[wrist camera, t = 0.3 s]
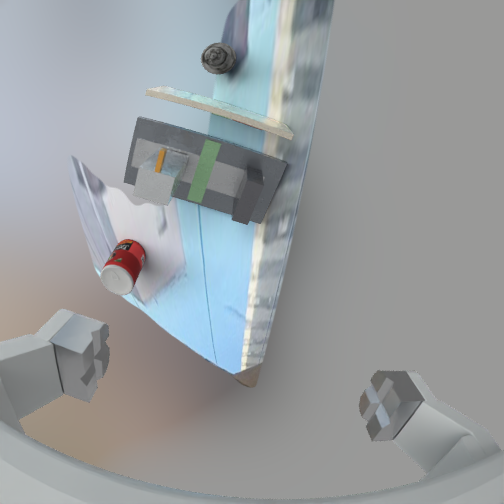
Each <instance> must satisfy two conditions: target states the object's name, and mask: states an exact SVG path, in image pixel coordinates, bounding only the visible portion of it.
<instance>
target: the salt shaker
mask: <svg viewBox="0 0 504 504" xmlns="http://www.w3.org/2000/svg"><path fill="white" fill-rule="evenodd" d="M235 62H236V54H235V51H234V50H233V48H232V47H230V46H229V45H227V44H225V43H214V44H212V45H209V46H208V47H207V48H206V49H205V50H204V51H203V53H202V56H201V63H202V65H203V67H204V68H205V69H206V70H207V71H208V72H210V73H212V74H223V73H226V72H228V71H229V70H231V69H232V68H233V66H234V64H235Z"/></svg>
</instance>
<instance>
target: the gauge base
mask: <svg viewBox="0 0 504 504" xmlns="http://www.w3.org/2000/svg"><path fill="white" fill-rule="evenodd" d="M146 95H147V96H151V97H156V98H160V99H164V100H168V101H172V102H176V103H180V104H183V105H187V106H191V107H194V108H198V109H201V110H205V111H208V112H211V113H212V114H215V115H218V116H221V117H225V118H228V119H232V120H234V121H237V122H240V123H243V124H246V125H249V126H252V127H254V128H257V129H260V130H265V131H268V132H270V133H273V134H276V135H278V136H281V137H284V138H286V139H289V140H292V138H293V136H294V135H293V133H292V132H291V130H290V129H289V128H288V126H287V125H286V124H284V123H281V122H278V121H276V120H273V119H271V118H268V117H265V116H262V115H260V114H257V113H254V112H251V111H248V110H245V109H242V108H239V107H236V106H233V105H230V104H227V103H224V102H221V101H217V100H214V99H211V98H207V97H204V96H200V95H197V94H193V93H189V92H186V91H182V90H178V89H174V88H170V87H166V86H161V87H156V88H150V89H147V91H146ZM159 148H165V149H167V150H170V151H174V152H177V153H180V154H184V155H187V156H189V158H188V161H187V165H186V168H185V172H184V175H183V178H182V181H181V182H180V184H179V186H178V188H177V190H176V191H175V193H174V195H173V197H176V198H179V199H182V200H186V201H189V202H192V203H195V204H199V205H202V206H205V207H208V208H212V209H215V210H218V211H221V212H224V213H228V214H231V215H232V220H233V221H236V222H240V223H243V224H246V225H248V223H249V220H250V221H253V222H256V223H259V224H261V222H262V220H263V218H264V215H265V213H266V211H267V209H268V206H269V204H270V202H271V199H272V197H273V195H274V193H275V190H276V188H277V186H278V184H279V181H280V179H281V177H282V175H283V172H284V170H285V168H286V166H287V162H285V161H282V160H279V159H277V158H274V157H271V156H268V155H266V154H263V153H260V152H257V151H254V150H252V149H249V148H246V147H243V146H240V145H237V144H234V143H231V142H228V141H225V140H222V139H218V138H215V137H212V136H209V135H206V134H202V133H199V132H196V131H192V130H189V129H185V128H182V127H178V126H174V125H171V124H167V123H163V122H159V121H156V120H152V119H147V118H144V117H138V118H137V122H136V126H135V130H134V135H133V139H132V144H131V148H130V153H129V157H128V162H127V167H126V173H125V178H124V183H128V184H132V185H135V184H136V179H137V174H138V169H139V167H140V166H141V165H142V164H143V163H144V162H145V161H146V160H147V159H148V158H149V157H150V156H151V155H152V154H153V153H154V152H155V151H156V150H157V149H159Z"/></svg>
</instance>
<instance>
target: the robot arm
mask: <svg viewBox="0 0 504 504" xmlns="http://www.w3.org/2000/svg"><path fill="white" fill-rule="evenodd" d="M108 337H109V327H108V325H107V324H106V323H104V322H101V321H98V320H95V319H92V318H89V317H86V316H83V315H81V314H77V313H75V312H72V311H69V310H66V309H60V310H59V311H58V312H57V313H56V314H55V315H54V316H53V317H52V318H51V319H50V320H49V321H48V322H47V323H46V324H45V325H44V326H43V327H42V328H41V329H40V330H39V331H38V332H37V333H36V334H35V335H34V336H33V335H31V334H28V335H24V336H21V337H17V338H13V339H9V340H6V341H2V342H0V504H504V450H503V451H502V450H501V449H500V447H499V446H498V444H497V443H496V441H495V440H494V438H493V437H492V435H491V434H490V433H489V431H488V430H487V429H486V428H485V427H483V426H481V425H480V424H478V423H477V422H475V421H473V420H472V419H470V418H468V417H467V416H465V415H463V414H462V413H460V412H459V411H457V410H456V409H454V408H452V407H451V406H449V405H447V404H446V403H444V402H443V401H441V400H437V399H436V398H435V397H434V395H433V393H432V392H431V390H430V389H429V388H428V386H427V385H426V383H425V382H424V380H423V379H422V378H421V376H420V375H419V374H418V372H416V371H380V370H378V371H377V372H376V373H375V374H374V375H373V377H372V378H371V386H370V387H368V388H367V389H365V390H364V392H363V394H362V396H361V398H360V403H359V409H360V413H361V416H362V417H363V418H364V419H365V420H367V421H368V423H367V425H366V428H367V431H368V433H369V435H370V438H371V440H372V441H386V440H393V442H394V443H395V444H396V445H397V446H398V447H399V448H400V449H401V450H402V451H404V452H405V453H406V454H407V455H408V456H409V457H410V458H411V459H412V460H413V461H414V462H415V463H416V464H417V465H418V466H419V467H420V468H421V469H423V470H424V471H425V472H426V473H427V474H426V475H425V476H424V477H423V478H422V479H421V480H419V482H415V483H411V484H407V485H403V486H399V487H394V488H390V489H384V490H379V491H374V492H367V493H361V494H354V495H346V496H336V497H327V498H310V499H254V498H239V497H227V496H218V495H210V494H202V493H196V492H190V491H185V490H179V489H174V488H169V487H164V486H160V485H156V484H152V483H148V482H144V481H140V480H136V479H133V478H129V477H126V476H123V475H119V474H116V473H113V472H110V471H107V470H104V469H101V468H99V467H96V466H93V465H90V464H88V463H85V462H83V461H80V460H78V459H75V458H73V457H70V456H68V455H66V454H64V453H61V452H59V451H57V450H55V449H53V448H50V447H49V446H46V445H44V444H42V443H40V442H38V441H36V440H35V439H33V438H31V437H29V436H27V435H25V432H24V430H23V428H22V426H21V424H20V422H19V419H21V418H23V417H25V416H26V415H28V414H30V413H32V412H34V411H35V410H37V409H39V408H41V407H43V406H44V405H46V404H48V403H50V402H51V401H53V400H55V399H57V398H58V397H60V396H62V395H63V393H64V394H66V395H69V396H72V397H74V398H77V399H80V400H83V401H86V402H90V400H91V399H92V397H93V395H94V393H95V391H96V389H97V388H98V387H97V380H98V379H100V378H103V376H104V374H105V372H106V370H107V367H108V363H109V355H110V353H109V347H108V345H107V344H106V342H105V341H106V340H107V338H108Z"/></svg>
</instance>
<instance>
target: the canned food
mask: <svg viewBox="0 0 504 504" xmlns="http://www.w3.org/2000/svg"><path fill="white" fill-rule="evenodd" d="M144 262H145V252H144V249H143V248H142V246H141V245H140V244H139V243H137V242H136V241H134V240H130V239H126V240H123V241H121V242H120V243H118V245H117V246H116V248H115V249H114V251H113V253H112V254H111V256H110V257H109V259H108V261H107V262H106V264H105V266H104V268H103V269H102V272H101V281H102V283H103V285H104V286H105V287H106V288H107V289H108V290H109V291H110V292H112V293H114V294H117V295H127V294H129V293H130V292H131V291H132V289H133V287H134V285H135V282H136V280H137V278H138V275H139V273H140V271H141V269H142V266H143V264H144Z"/></svg>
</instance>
